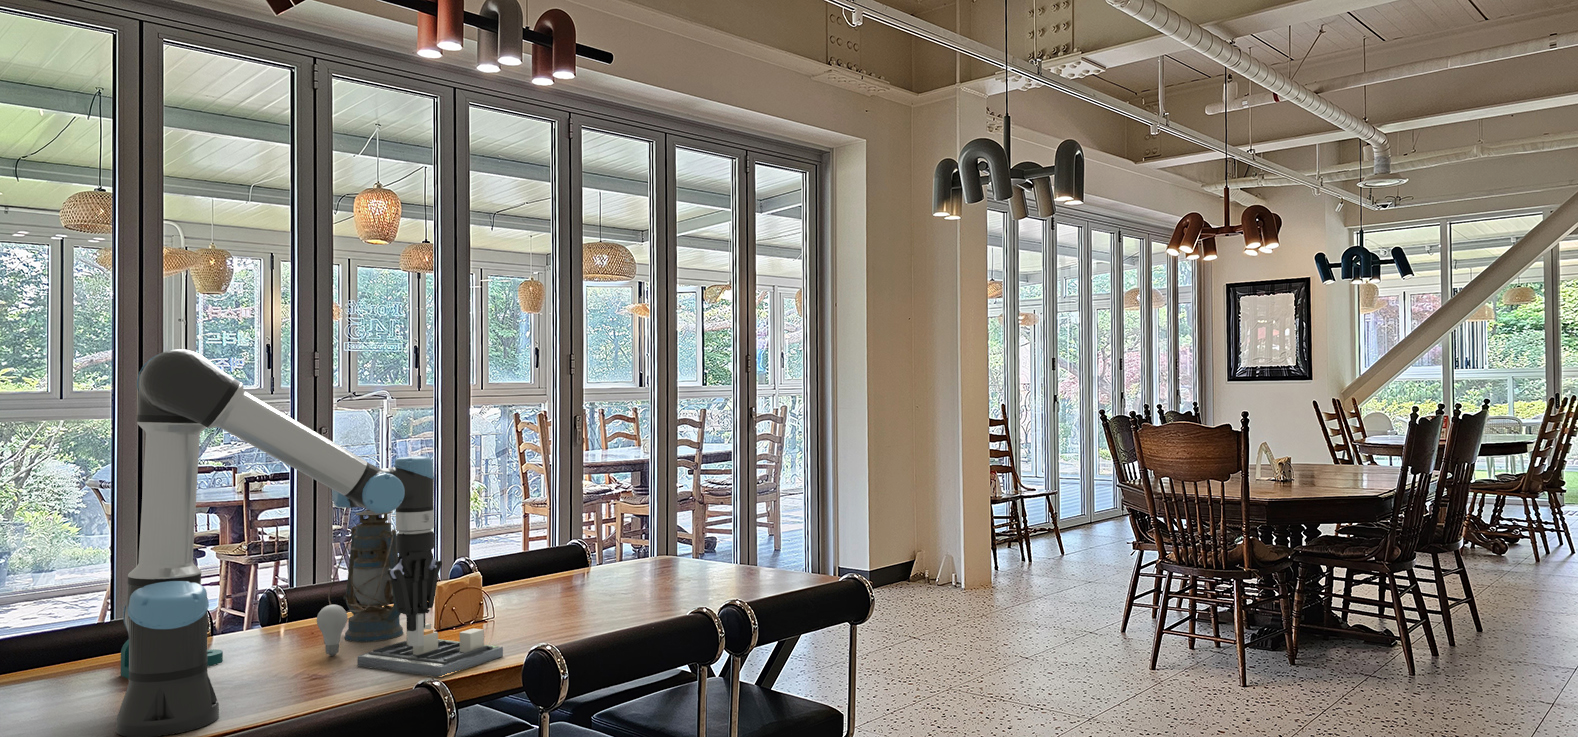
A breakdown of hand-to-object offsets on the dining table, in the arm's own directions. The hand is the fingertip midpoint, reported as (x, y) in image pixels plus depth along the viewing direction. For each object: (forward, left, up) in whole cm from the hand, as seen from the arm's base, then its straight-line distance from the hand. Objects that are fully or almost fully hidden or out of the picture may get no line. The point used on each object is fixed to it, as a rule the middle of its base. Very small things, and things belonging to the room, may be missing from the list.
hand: (416, 645), depth 215 cm
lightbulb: (-1, +24, -5) cm, 24 cm away
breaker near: (+8, -7, -2) cm, 11 cm away
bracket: (-21, +46, -5) cm, 51 cm away
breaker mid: (+3, 0, -2) cm, 3 cm away
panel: (+4, 0, -4) cm, 6 cm away
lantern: (+16, +31, -5) cm, 35 cm away
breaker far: (+8, +8, -2) cm, 11 cm away
